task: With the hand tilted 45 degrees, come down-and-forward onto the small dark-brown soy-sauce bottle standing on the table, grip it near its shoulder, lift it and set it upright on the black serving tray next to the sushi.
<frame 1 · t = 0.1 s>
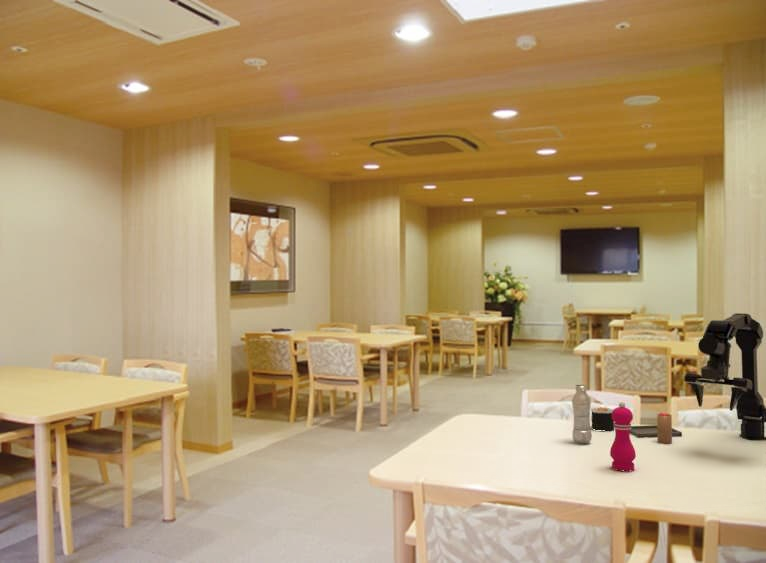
hand: (715, 408, 207), 15 cm above the table, tool pointing down, fingers open, 9 cm apart
soy sauce bottle: (664, 442, 226), on the table
tray: (652, 433, 240), on the table
sushi: (602, 429, 247), on the table
pepper mill: (623, 469, 197), on the table
plastic bottle: (582, 443, 228), on the table
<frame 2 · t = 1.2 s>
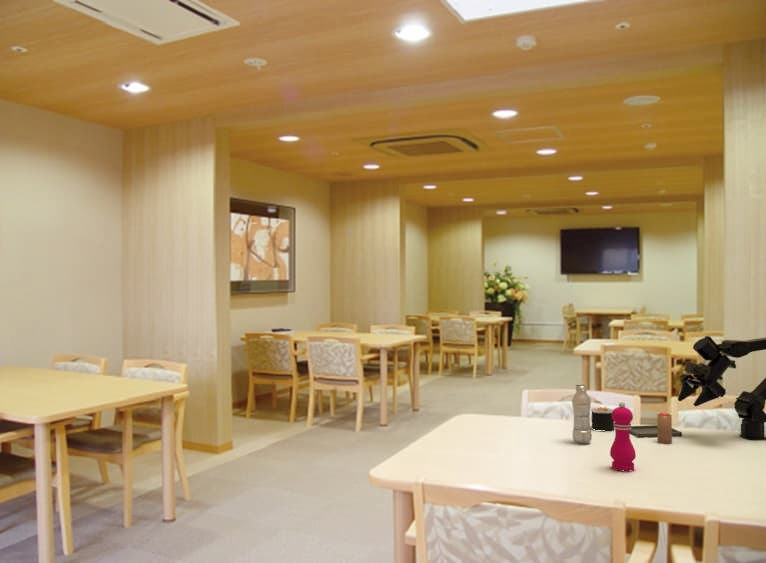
hand: (686, 403, 227), 13 cm above the table, tool tilted 45°, fingers open, 9 cm apart
nothing on the table moved.
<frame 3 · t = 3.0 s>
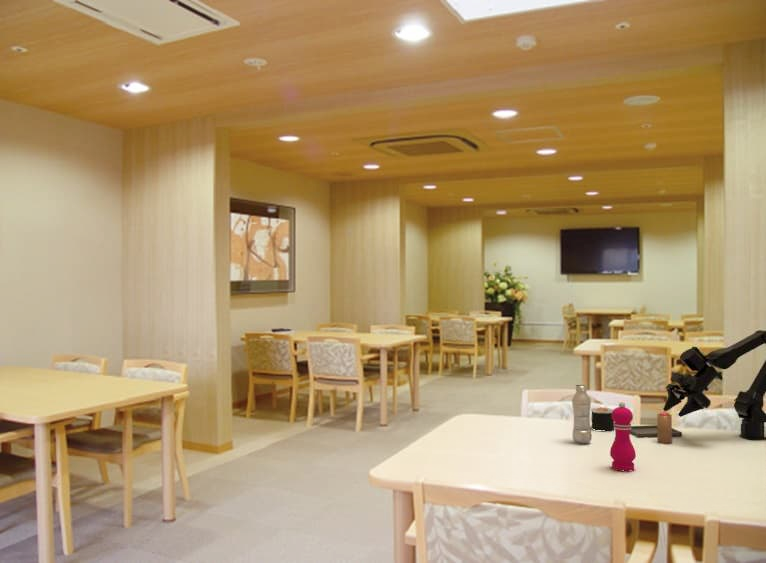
hand: (671, 413, 227), 10 cm above the table, tool tilted 45°, fingers open, 9 cm apart
nothing on the table moved.
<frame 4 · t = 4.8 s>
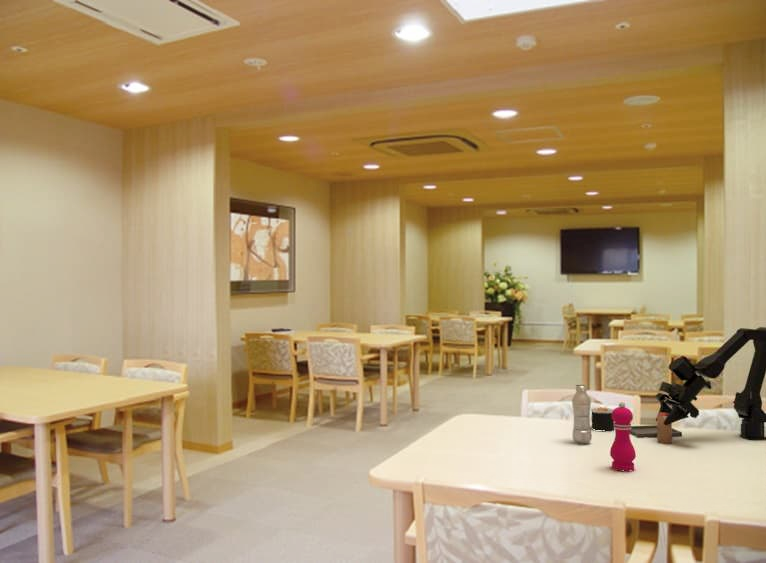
hand: (660, 422, 226), 7 cm above the table, tool tilted 45°, fingers closed on soy sauce bottle, 5 cm apart
soy sauce bottle: (664, 442, 226), on the table, touching gripper
everything else where it was.
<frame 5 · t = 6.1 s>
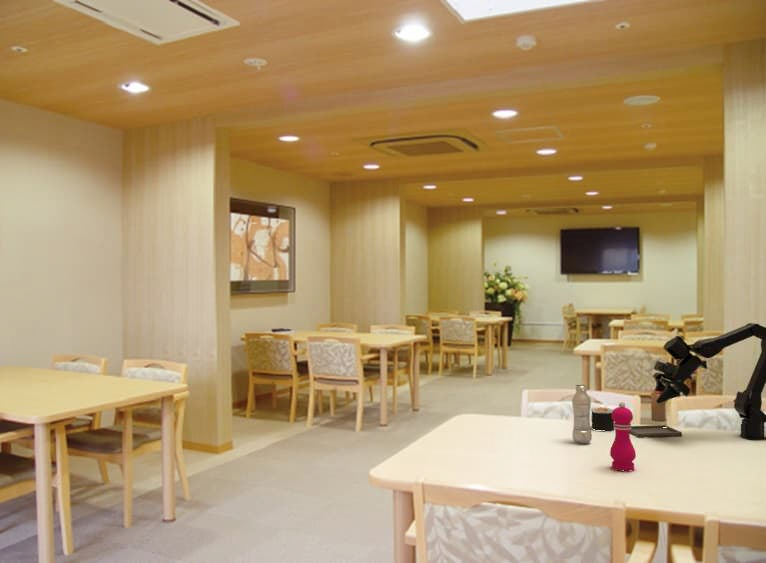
hand: (654, 401, 231), 13 cm above the table, tool tilted 45°, fingers closed on soy sauce bottle, 5 cm apart
soy sauce bottle: (658, 420, 231), point 7 cm above the table, touching gripper
everything else where it was.
when the fingers open (8 cm above the table, at t = 7.9 s): soy sauce bottle stays where it is, resting on tray.
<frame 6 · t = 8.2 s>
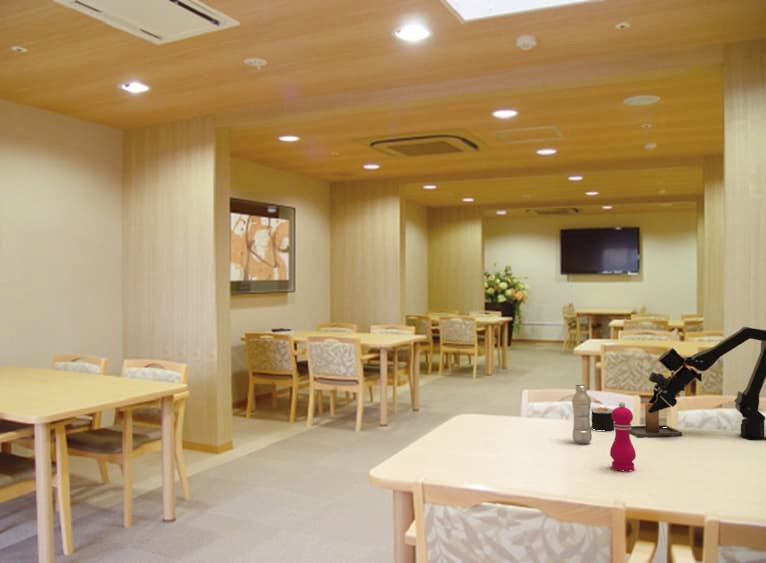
hand: (647, 410, 240), 8 cm above the table, tool tilted 45°, fingers open, 7 cm apart
soy sauce bottle: (652, 431, 240), point 1 cm above the table, touching tray
everything else where it was.
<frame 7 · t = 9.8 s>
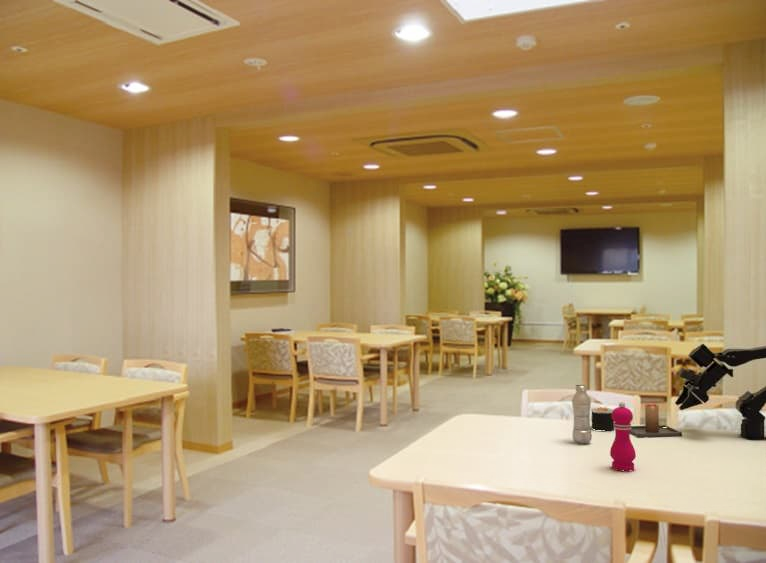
hand: (678, 406, 237), 10 cm above the table, tool tilted 45°, fingers open, 9 cm apart
nothing on the table moved.
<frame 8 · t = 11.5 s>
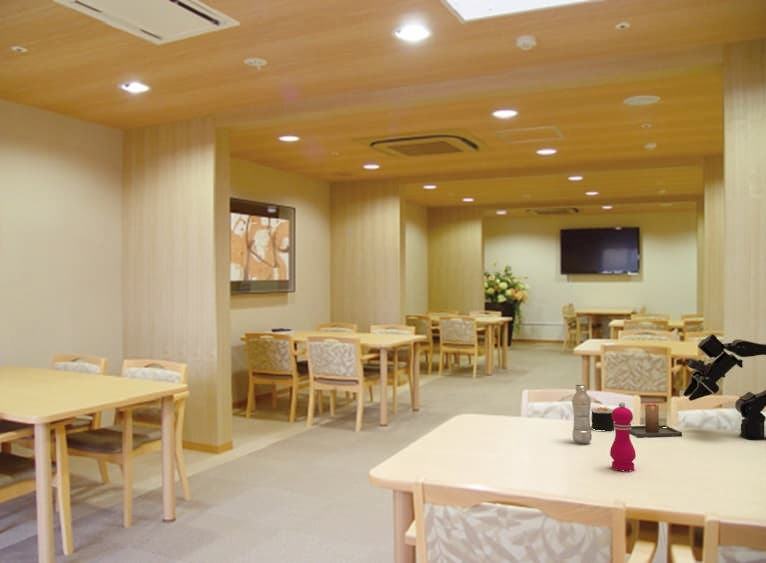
hand: (686, 397, 235), 14 cm above the table, tool tilted 45°, fingers open, 9 cm apart
nothing on the table moved.
at the end: soy sauce bottle inside the target area on the tray (0.0 cm from its centre), point 0.6 cm above the tray's base; soy sauce bottle tilted 0°; soy sauce bottle moved 13.5 cm from its start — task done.
